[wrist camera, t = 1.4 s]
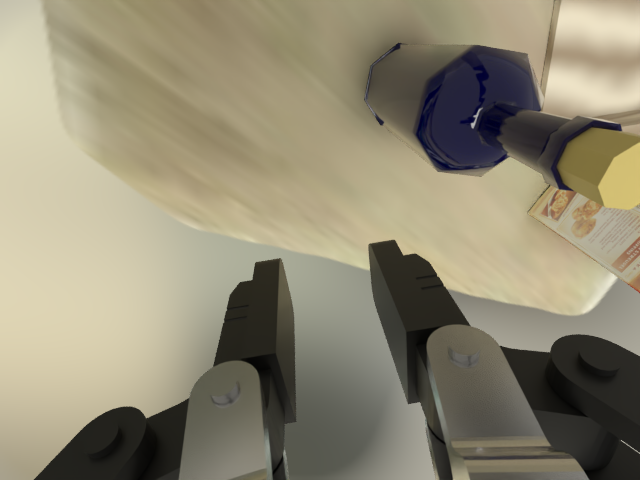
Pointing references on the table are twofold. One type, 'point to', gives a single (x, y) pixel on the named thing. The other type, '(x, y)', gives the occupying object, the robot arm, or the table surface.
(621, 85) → the u rest
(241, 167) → the table surface
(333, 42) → the table surface
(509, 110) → the bottle
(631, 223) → the coffeecake box
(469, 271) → the table surface
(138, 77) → the table surface
